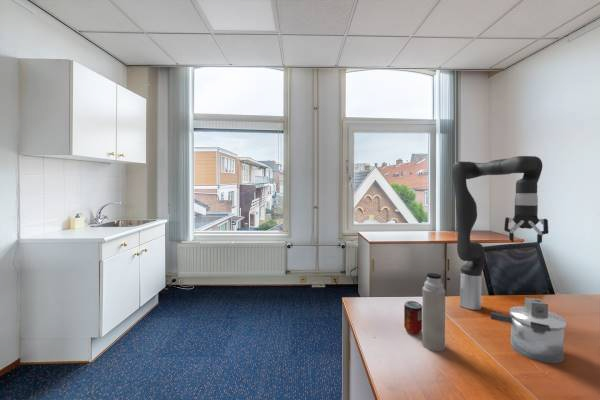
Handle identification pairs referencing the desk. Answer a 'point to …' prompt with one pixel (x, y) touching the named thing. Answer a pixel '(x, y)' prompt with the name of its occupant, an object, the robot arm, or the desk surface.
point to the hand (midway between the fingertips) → (525, 242)
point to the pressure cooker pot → (534, 340)
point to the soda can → (413, 317)
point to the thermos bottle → (433, 313)
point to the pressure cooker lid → (538, 319)
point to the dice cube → (536, 307)
